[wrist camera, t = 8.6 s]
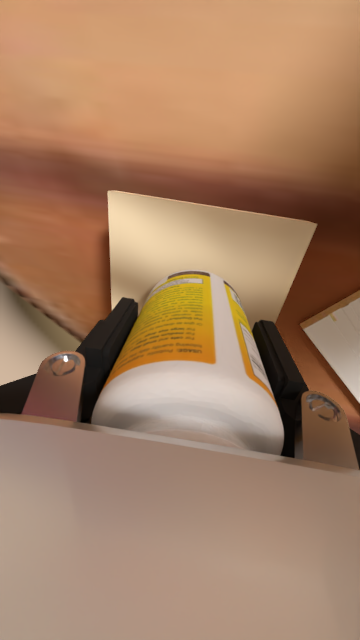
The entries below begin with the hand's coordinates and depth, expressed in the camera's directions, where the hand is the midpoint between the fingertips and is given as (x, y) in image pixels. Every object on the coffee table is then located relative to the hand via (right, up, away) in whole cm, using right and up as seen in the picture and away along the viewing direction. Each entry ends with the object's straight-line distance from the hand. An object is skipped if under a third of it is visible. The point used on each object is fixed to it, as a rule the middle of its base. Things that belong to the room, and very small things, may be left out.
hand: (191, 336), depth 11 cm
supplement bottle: (0, +1, +2) cm, 3 cm away
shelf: (+1, +4, +7) cm, 9 cm away
